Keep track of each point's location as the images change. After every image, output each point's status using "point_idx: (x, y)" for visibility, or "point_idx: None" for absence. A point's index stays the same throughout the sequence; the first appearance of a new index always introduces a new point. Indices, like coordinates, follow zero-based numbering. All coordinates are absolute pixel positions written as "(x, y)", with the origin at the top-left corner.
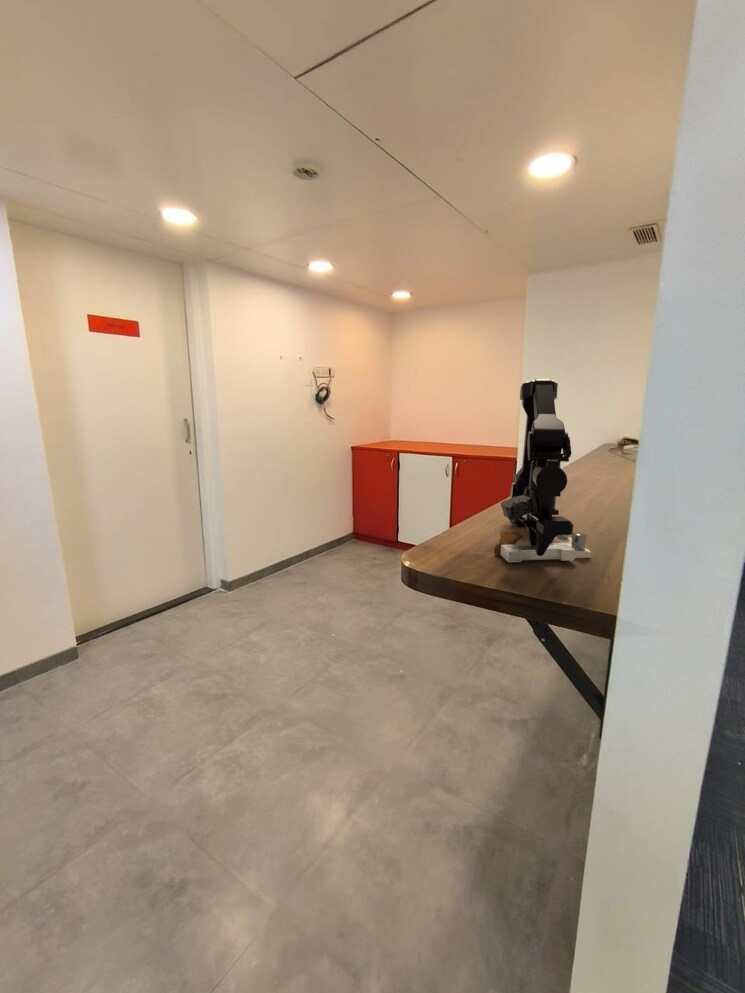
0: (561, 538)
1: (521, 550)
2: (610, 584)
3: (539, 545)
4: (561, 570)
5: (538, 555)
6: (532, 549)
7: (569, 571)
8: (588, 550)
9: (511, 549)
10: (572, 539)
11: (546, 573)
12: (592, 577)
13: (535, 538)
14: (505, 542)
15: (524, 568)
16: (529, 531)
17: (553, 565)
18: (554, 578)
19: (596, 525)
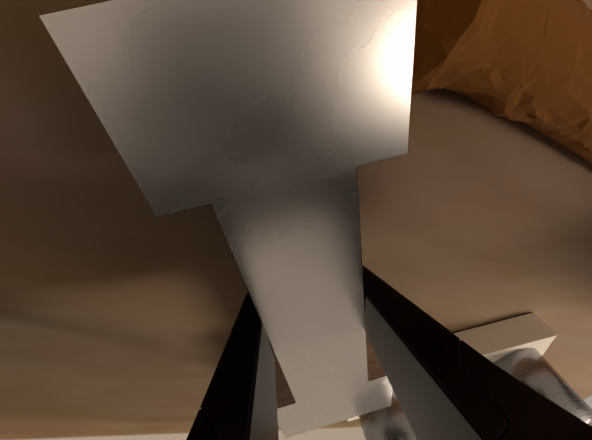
0: (497, 365)
1: (215, 209)
2: (82, 435)
3: (213, 385)
4: (171, 334)
5: (248, 294)
6: (256, 296)
7: (170, 355)
8: (358, 417)
9: (200, 89)
10: (404, 436)
11: (82, 280)
12: (131, 404)
13: (397, 362)
14: (564, 79)
15: (113, 166)
16: (463, 410)
17: (234, 311)
18: (14, 309)
19: (579, 394)
